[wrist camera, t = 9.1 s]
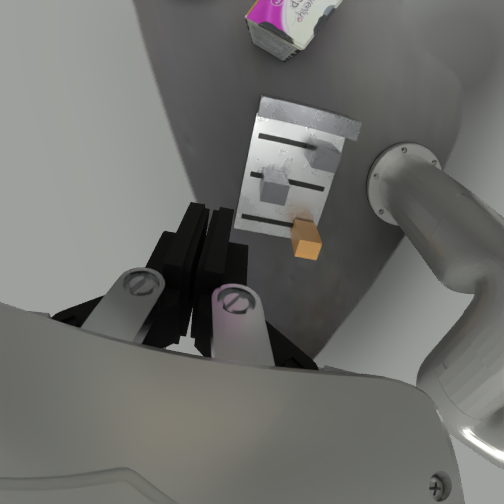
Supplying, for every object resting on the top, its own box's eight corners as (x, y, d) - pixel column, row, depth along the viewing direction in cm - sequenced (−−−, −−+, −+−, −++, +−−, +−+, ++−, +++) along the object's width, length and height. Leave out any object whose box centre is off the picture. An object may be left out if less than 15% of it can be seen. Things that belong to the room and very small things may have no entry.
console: (347, 115, 33) (365, 124, 27) (309, 235, 43) (317, 264, 37) (261, 93, 32) (262, 97, 26) (234, 221, 42) (230, 249, 36)
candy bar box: (297, -21, 23) (324, -78, 9) (332, 0, 24) (383, -43, 10) (248, 43, 28) (241, 16, 14) (284, 64, 30) (306, 52, 16)
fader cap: (315, 223, 39) (322, 243, 35) (309, 238, 40) (316, 260, 36) (295, 219, 39) (299, 239, 34) (290, 234, 40) (294, 256, 36)
